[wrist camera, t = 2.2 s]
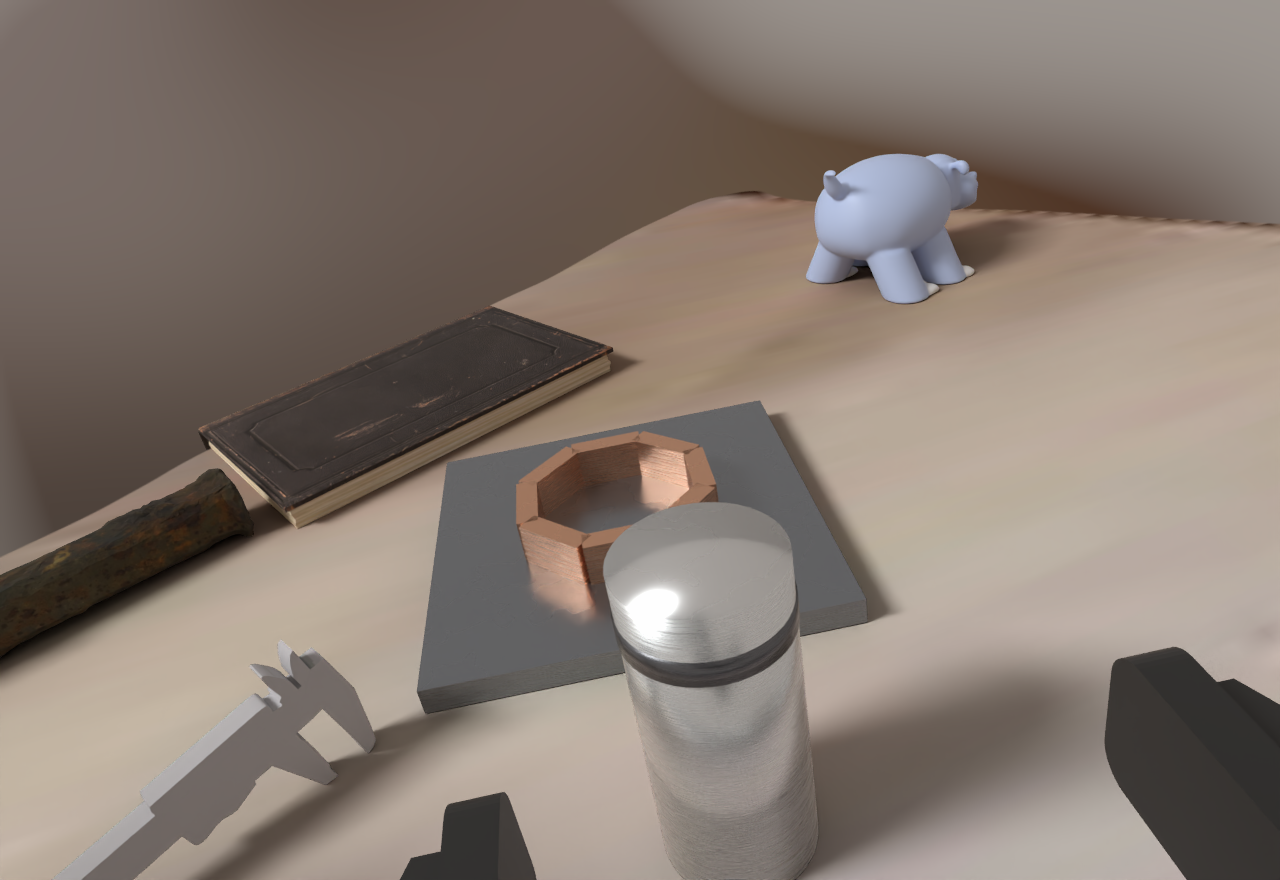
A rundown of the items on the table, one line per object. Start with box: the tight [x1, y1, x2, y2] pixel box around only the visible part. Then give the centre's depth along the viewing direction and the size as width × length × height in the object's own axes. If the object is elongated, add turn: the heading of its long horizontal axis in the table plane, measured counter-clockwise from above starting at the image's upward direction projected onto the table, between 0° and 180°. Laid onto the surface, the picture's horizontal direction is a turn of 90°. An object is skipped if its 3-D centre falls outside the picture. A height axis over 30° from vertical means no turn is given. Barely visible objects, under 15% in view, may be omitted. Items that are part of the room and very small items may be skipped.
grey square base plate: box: [417, 400, 867, 714], centre depth 43 cm, size 18×18×3 cm
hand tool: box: [0, 468, 254, 657], centre depth 45 cm, size 19×4×5 cm, turn 132°
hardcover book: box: [198, 306, 613, 529], centre depth 61 cm, size 16×23×2 cm
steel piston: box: [603, 502, 819, 880], centre depth 27 cm, size 5×5×11 cm
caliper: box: [52, 639, 376, 880], centre depth 28 cm, size 20×1×6 cm, turn 135°
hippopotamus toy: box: [806, 154, 978, 304], centre depth 67 cm, size 11×15×10 cm
